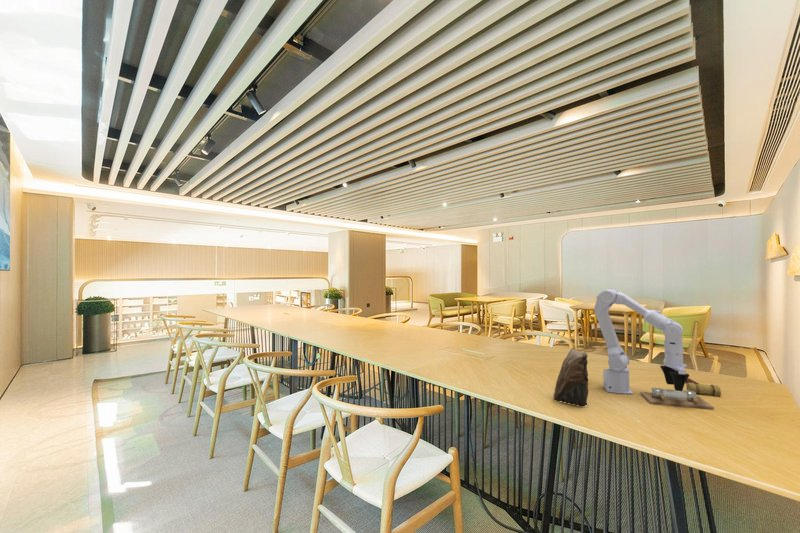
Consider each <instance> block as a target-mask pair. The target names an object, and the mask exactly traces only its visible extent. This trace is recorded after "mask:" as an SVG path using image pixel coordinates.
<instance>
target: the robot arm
mask: <svg viewBox="0 0 800 533" xmlns="http://www.w3.org/2000/svg"><path fill="white" fill-rule="evenodd" d="M595 300H596V302H595V305H594V308H593V311H594V314H595V317H596V319H597V320H596V321H597V322H598V325H599V328H600V330H601V331H600V332H601V334H602V337H603V339H604V342H605V345H606V348H607V356H608V360H607V364H608V366H609V367H608V368H604V369H603V371H602V373H603V374H602V375H603V377H602V378H603V382H602V383H603V388H604V389H605V391H606V392H608V393H616V394H626V395H627V394H629V395H633V394H634V393H633V391H632V390H631V388H630V369H629V368H628V366H629V364H630V358H629V356H628V355H627V354H626V353H625V350H624V349H623V348H622V346H621V344H620V342H619V339H618V336H617V333H616V330H615V327H614V325H613V321H612V318H611V316H610V313H609V311H610V309H611V308H612V306H613V305H614V304H615V305H623V306H626V307H627V308H629V309H630V310H632V311H634V312H636V313H637V314H639V315H641V316H642V317H643V319H644V322H646V323H648V324H649V325H650V326H652V327H654V328H656V329H657V330H658V331H661V332H662V333H663V334H664V342H663V344H664V345H663V346H664V347H663V348H664V359H663V360H662V361H663V365H659V366H660V369H661V370H662V373H663V375H664V378H665V382H666V385H671V386H673V389H674V390H676V391H682V390H684V386H685V383H686V382H685V381H686V380H687V378H689V377H690V374H689V373H686V370H687V369H685V368H687V367H688V365H687V364H685V363H684V344H683V343H684V342H683V336H682V334H683V332H684V329H683V326H682V325H681V324H680V323H679V322H678V321H674V319H672V318H669V317H667V316H666V315H663V314H662V312H661V311H660V310H656V309H647V307H645V306H643V305H642V304H641V303H639V302H637V301H636V300H634V299H632V298H631V297H630V296H628V295H627V294H625V293H623V292H621V291H618V290H617V289H616V288H607V289H603V290H601V291H600V292H599V293H598V294H597V295H596V299H595Z"/></svg>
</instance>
